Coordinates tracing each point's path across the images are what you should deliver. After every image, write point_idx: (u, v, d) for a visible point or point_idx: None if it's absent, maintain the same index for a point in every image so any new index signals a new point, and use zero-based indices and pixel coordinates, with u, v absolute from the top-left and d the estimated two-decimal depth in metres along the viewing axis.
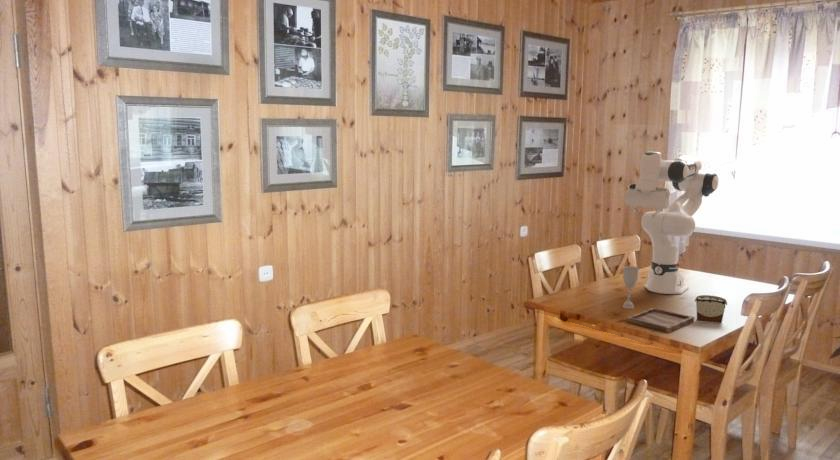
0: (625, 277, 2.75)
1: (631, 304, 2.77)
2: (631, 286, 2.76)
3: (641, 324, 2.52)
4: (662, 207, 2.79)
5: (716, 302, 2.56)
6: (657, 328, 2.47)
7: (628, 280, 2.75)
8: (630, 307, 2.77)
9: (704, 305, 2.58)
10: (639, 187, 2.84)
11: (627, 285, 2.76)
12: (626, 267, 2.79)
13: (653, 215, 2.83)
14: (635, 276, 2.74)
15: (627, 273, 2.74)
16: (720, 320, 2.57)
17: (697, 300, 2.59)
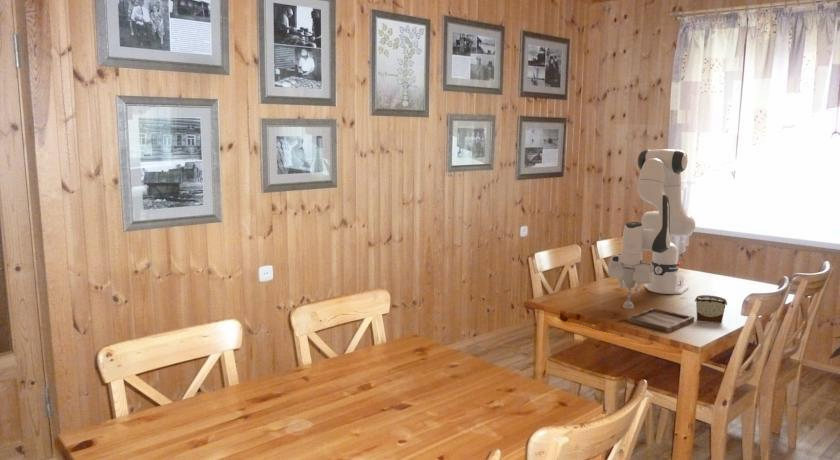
0: (625, 277, 2.75)
1: (631, 304, 2.77)
2: (631, 286, 2.76)
3: (641, 324, 2.52)
4: (646, 282, 2.69)
5: (716, 302, 2.56)
6: (657, 328, 2.47)
7: (628, 280, 2.75)
8: (630, 307, 2.77)
9: (704, 305, 2.58)
10: (622, 260, 2.74)
11: (627, 285, 2.76)
12: None
13: (635, 288, 2.74)
14: None
15: (627, 273, 2.74)
16: (720, 320, 2.57)
17: (697, 300, 2.59)
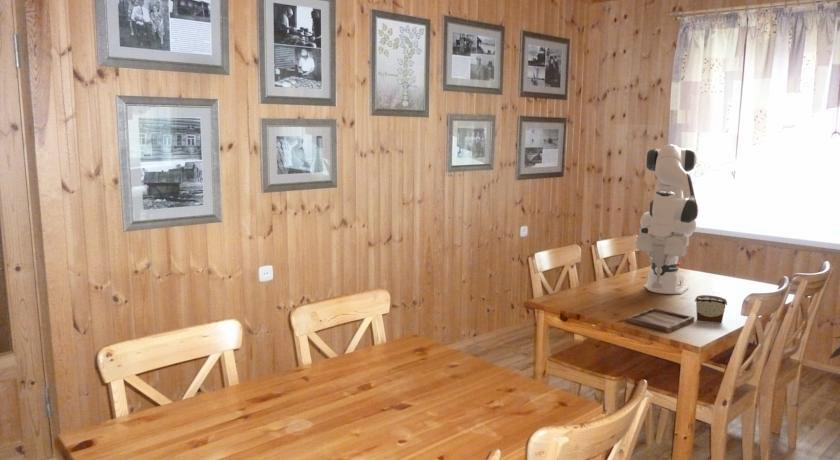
0: (655, 255, 2.54)
1: (661, 284, 2.56)
2: (661, 264, 2.55)
3: (641, 324, 2.52)
4: (679, 255, 2.48)
5: (716, 302, 2.56)
6: (657, 328, 2.47)
7: (659, 257, 2.54)
8: (660, 287, 2.56)
9: (704, 305, 2.58)
10: (652, 232, 2.53)
11: (657, 263, 2.55)
12: None
13: (666, 262, 2.53)
14: None
15: (658, 250, 2.53)
16: (720, 320, 2.57)
17: (697, 300, 2.59)
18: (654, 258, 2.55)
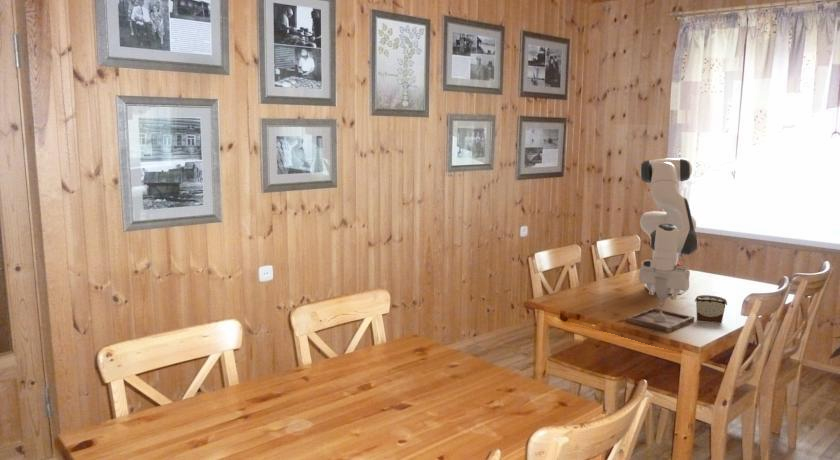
0: (658, 288, 2.54)
1: (664, 317, 2.56)
2: (664, 297, 2.55)
3: (641, 324, 2.52)
4: (682, 289, 2.48)
5: (716, 302, 2.56)
6: (657, 328, 2.47)
7: (662, 291, 2.53)
8: (663, 320, 2.56)
9: (704, 305, 2.58)
10: (654, 266, 2.53)
11: (660, 296, 2.55)
12: None
13: (672, 296, 2.52)
14: None
15: (660, 283, 2.53)
16: (720, 320, 2.57)
17: (697, 300, 2.59)
18: (657, 291, 2.55)
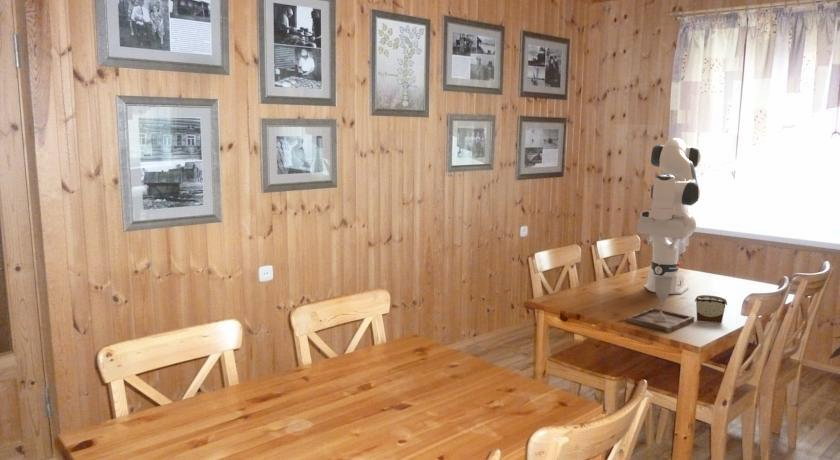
0: (658, 288, 2.54)
1: (664, 317, 2.56)
2: (664, 297, 2.55)
3: (641, 324, 2.52)
4: (680, 238, 2.52)
5: (716, 302, 2.56)
6: (657, 328, 2.47)
7: (662, 291, 2.53)
8: (663, 320, 2.56)
9: (704, 305, 2.58)
10: (653, 216, 2.57)
11: (660, 296, 2.55)
12: (657, 277, 2.58)
13: (670, 245, 2.56)
14: (669, 286, 2.53)
15: (660, 283, 2.53)
16: (720, 320, 2.57)
17: (697, 300, 2.59)
18: (657, 291, 2.55)
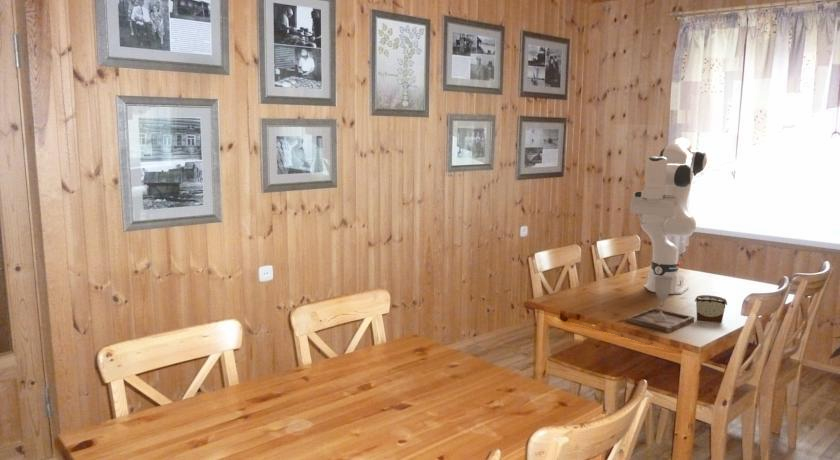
0: (658, 288, 2.54)
1: (664, 317, 2.56)
2: (664, 297, 2.55)
3: (641, 324, 2.52)
4: (670, 216, 2.64)
5: (716, 302, 2.56)
6: (657, 328, 2.47)
7: (662, 291, 2.53)
8: (663, 320, 2.56)
9: (704, 305, 2.58)
10: (645, 195, 2.69)
11: (660, 296, 2.55)
12: (657, 277, 2.58)
13: (661, 224, 2.68)
14: (669, 286, 2.53)
15: (660, 283, 2.53)
16: (720, 320, 2.57)
17: (697, 300, 2.59)
18: (657, 291, 2.55)
